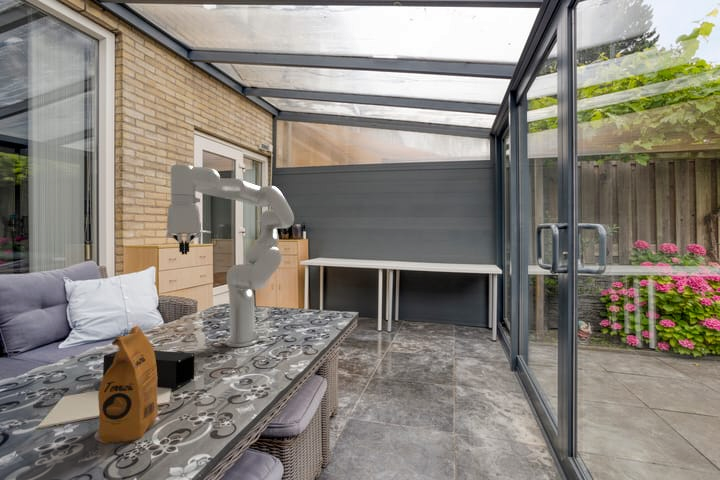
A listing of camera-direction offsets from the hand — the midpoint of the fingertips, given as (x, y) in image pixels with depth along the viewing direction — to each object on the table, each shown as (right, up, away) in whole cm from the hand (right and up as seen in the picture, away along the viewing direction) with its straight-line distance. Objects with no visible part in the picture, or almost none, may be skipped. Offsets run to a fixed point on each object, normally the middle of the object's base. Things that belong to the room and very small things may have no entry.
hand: (184, 254), depth 118 cm
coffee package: (+9, -38, -41) cm, 56 cm away
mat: (-4, -38, -28) cm, 47 cm away
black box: (+10, -33, -19) cm, 39 cm away
